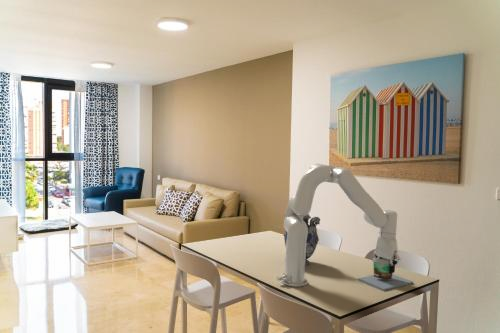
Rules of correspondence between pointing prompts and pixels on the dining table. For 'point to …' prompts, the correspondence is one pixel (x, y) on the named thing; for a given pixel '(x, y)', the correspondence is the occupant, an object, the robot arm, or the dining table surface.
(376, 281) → the slate mat
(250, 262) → the dining table surface
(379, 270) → the food container
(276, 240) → the dining table surface
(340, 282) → the dining table surface
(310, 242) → the decorative vase
